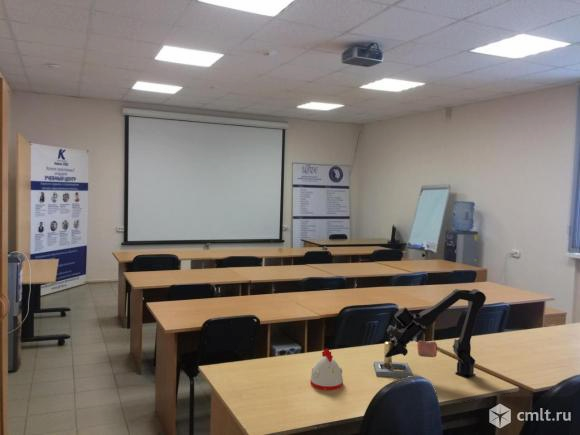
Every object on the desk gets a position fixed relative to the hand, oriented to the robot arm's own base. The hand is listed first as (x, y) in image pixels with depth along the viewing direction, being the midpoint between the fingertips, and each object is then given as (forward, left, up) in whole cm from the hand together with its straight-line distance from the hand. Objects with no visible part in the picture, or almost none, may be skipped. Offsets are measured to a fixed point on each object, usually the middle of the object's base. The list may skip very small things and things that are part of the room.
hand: (385, 355), depth 210 cm
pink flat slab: (+10, -43, -8) cm, 45 cm away
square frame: (-2, -3, -7) cm, 8 cm away
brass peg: (-1, -1, -7) cm, 7 cm away
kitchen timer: (+4, +32, -8) cm, 33 cm away
